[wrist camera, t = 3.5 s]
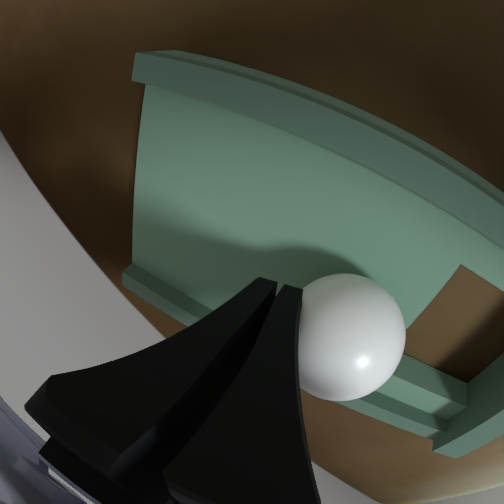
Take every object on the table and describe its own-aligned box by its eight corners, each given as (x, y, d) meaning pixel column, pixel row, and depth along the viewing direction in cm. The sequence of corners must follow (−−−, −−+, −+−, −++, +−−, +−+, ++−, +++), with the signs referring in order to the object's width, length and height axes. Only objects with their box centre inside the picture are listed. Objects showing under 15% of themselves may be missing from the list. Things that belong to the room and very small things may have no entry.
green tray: (601, 283, 7) (625, 330, 4) (460, 414, 14) (457, 458, 11) (177, 50, 10) (120, 54, 8) (149, 261, 17) (113, 293, 15)
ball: (404, 252, 10) (448, 361, 7) (352, 317, 13) (375, 408, 10) (292, 239, 9) (320, 377, 6) (258, 314, 12) (269, 419, 9)
